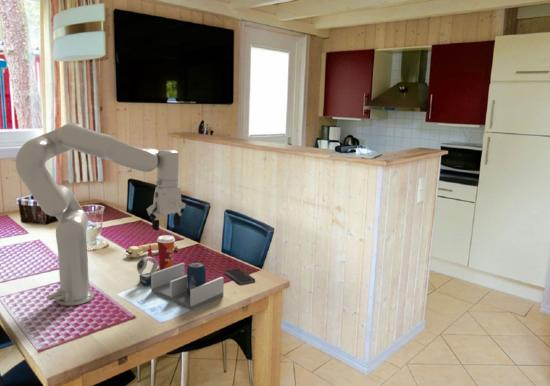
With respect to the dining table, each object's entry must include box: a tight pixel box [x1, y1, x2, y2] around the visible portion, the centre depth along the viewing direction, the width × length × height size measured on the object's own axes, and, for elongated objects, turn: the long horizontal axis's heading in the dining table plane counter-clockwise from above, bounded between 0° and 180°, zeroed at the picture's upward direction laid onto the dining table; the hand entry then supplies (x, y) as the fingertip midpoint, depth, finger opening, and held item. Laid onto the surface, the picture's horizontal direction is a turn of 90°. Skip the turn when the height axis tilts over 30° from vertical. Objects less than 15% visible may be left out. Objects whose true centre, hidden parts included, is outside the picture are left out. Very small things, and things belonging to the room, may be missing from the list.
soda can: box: [186, 261, 207, 296], centre depth 164 cm, size 7×7×12 cm
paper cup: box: [156, 234, 176, 270], centre depth 193 cm, size 8×8×14 cm
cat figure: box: [124, 234, 179, 258], centre depth 210 cm, size 10×9×25 cm
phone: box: [224, 268, 256, 286], centre depth 187 cm, size 8×1×15 cm
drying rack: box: [150, 262, 225, 311], centre depth 168 cm, size 16×23×8 cm
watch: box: [136, 255, 158, 288], centre depth 176 cm, size 6×8×11 cm
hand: (166, 227), depth 166 cm, fingers open, 9 cm apart
